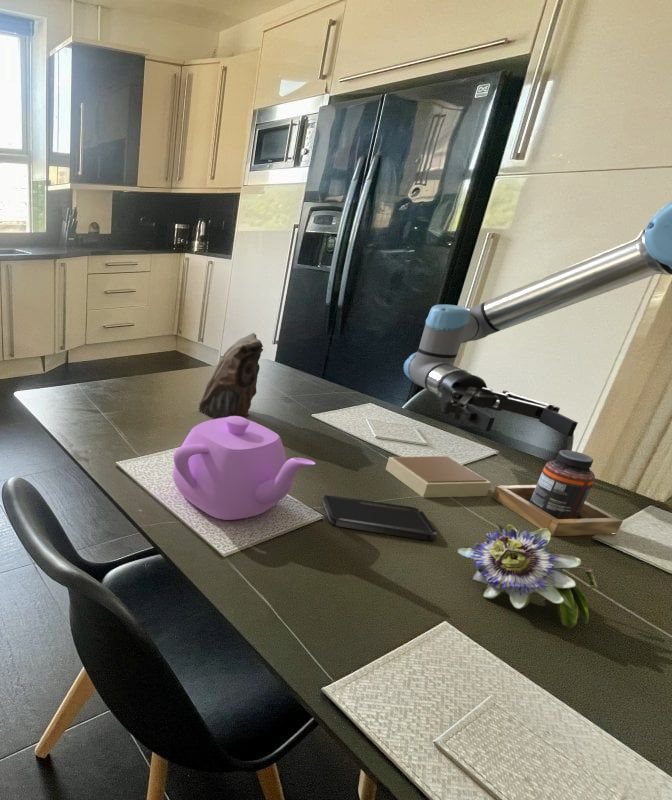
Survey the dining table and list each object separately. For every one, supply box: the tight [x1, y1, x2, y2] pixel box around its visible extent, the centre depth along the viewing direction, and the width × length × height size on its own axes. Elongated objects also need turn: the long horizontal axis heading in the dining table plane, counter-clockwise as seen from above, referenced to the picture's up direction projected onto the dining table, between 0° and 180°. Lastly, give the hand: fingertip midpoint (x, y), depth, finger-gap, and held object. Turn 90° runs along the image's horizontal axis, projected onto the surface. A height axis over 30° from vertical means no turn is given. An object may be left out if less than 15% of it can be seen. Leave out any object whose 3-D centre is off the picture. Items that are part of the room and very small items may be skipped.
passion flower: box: [456, 522, 598, 629], centre depth 63 cm, size 11×11×12 cm
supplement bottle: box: [529, 449, 596, 519], centre depth 80 cm, size 6×6×11 cm
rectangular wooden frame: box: [491, 484, 623, 537], centre depth 81 cm, size 11×11×2 cm
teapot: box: [172, 416, 316, 521], centre depth 79 cm, size 23×21×15 cm
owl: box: [198, 332, 264, 419], centre depth 115 cm, size 13×13×20 cm
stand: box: [385, 455, 492, 499], centre depth 90 cm, size 12×10×3 cm
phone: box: [321, 494, 438, 542], centre depth 79 cm, size 8×1×15 cm
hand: (531, 427), depth 86 cm, fingers open, 13 cm apart
